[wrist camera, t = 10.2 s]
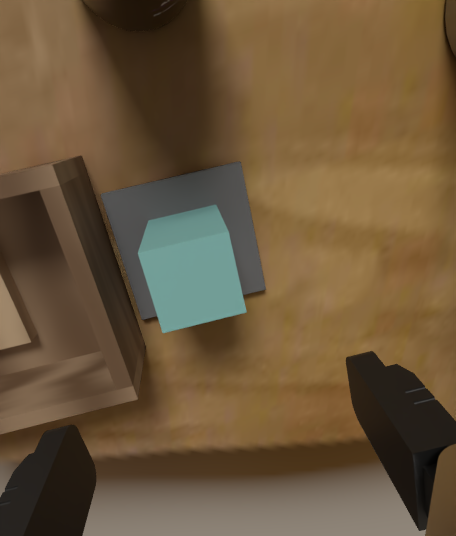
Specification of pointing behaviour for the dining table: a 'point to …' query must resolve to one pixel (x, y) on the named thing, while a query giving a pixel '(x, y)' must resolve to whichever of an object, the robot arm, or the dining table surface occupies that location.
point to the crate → (61, 301)
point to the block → (191, 269)
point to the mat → (177, 201)
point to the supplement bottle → (136, 12)
